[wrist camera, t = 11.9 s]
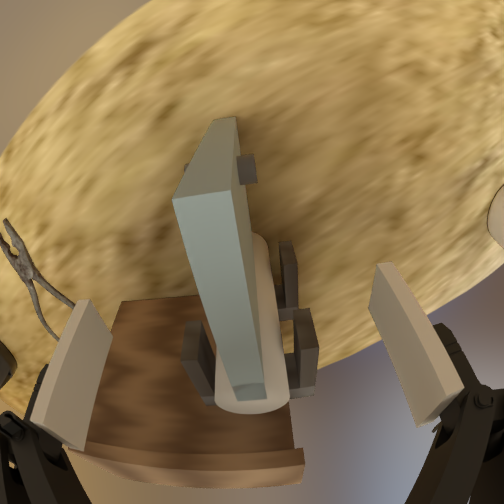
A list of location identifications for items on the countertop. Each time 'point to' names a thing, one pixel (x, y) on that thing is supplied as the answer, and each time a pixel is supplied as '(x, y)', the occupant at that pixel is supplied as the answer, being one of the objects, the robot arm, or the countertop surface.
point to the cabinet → (193, 399)
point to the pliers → (29, 272)
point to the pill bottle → (497, 218)
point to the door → (232, 273)
